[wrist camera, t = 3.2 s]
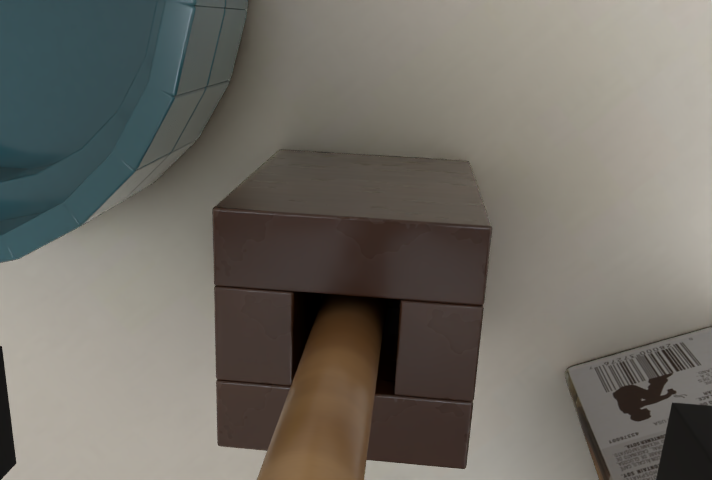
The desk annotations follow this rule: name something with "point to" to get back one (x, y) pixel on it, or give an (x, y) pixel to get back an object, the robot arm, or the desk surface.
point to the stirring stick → (330, 395)
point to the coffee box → (638, 401)
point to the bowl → (101, 103)
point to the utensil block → (353, 292)
